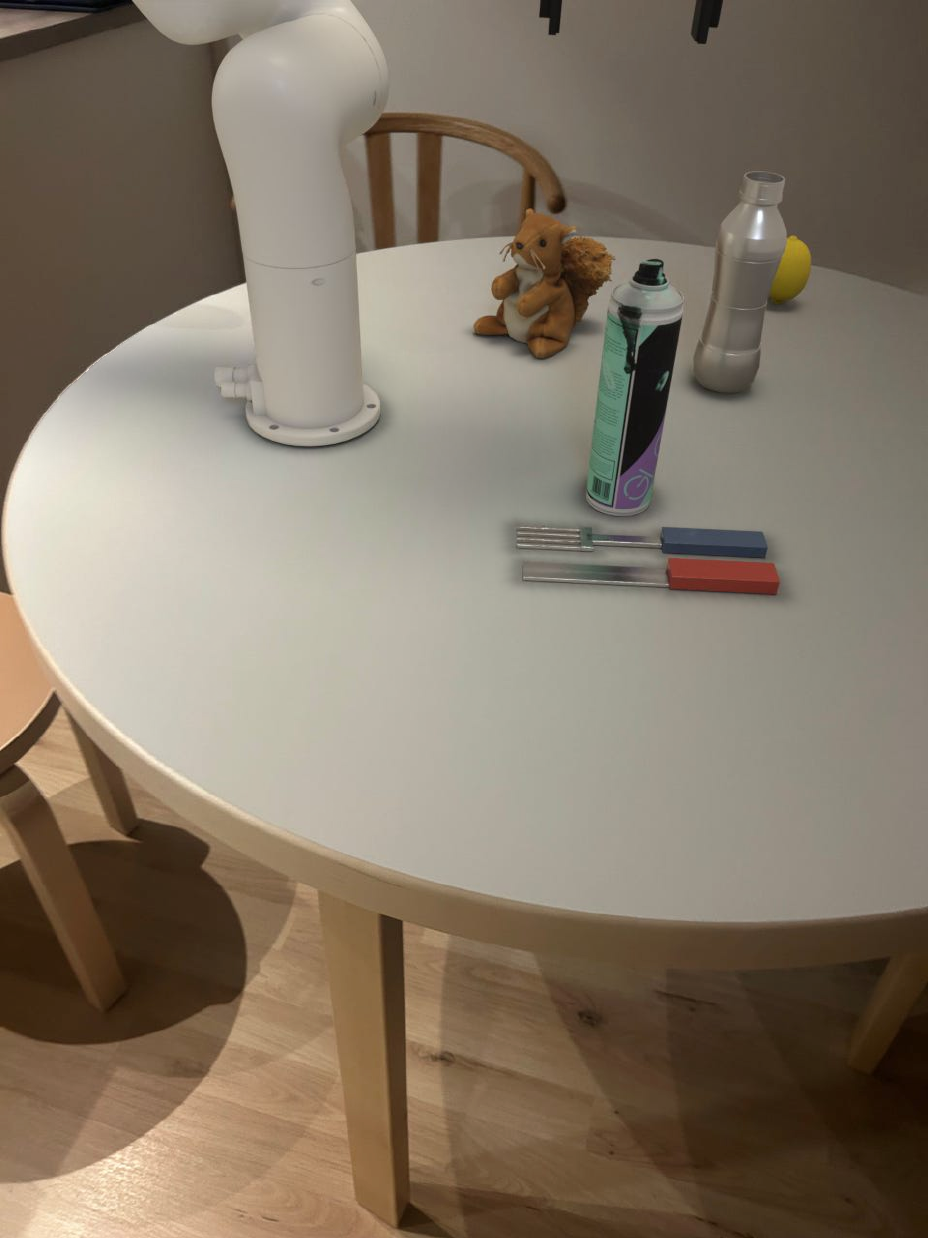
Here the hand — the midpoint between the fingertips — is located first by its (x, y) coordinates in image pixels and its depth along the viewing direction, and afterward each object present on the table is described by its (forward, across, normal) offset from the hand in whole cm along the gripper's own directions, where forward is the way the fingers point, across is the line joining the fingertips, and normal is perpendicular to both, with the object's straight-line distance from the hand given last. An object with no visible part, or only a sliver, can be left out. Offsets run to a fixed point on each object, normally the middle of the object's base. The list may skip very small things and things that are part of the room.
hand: (625, 35), depth 64 cm
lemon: (+33, +25, +39) cm, 57 cm away
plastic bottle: (+33, +16, +17) cm, 40 cm away
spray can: (+33, +4, -5) cm, 34 cm away
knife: (+33, +6, -16) cm, 37 cm away
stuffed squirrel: (+33, -3, +28) cm, 43 cm away
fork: (+33, +6, -12) cm, 35 cm away
